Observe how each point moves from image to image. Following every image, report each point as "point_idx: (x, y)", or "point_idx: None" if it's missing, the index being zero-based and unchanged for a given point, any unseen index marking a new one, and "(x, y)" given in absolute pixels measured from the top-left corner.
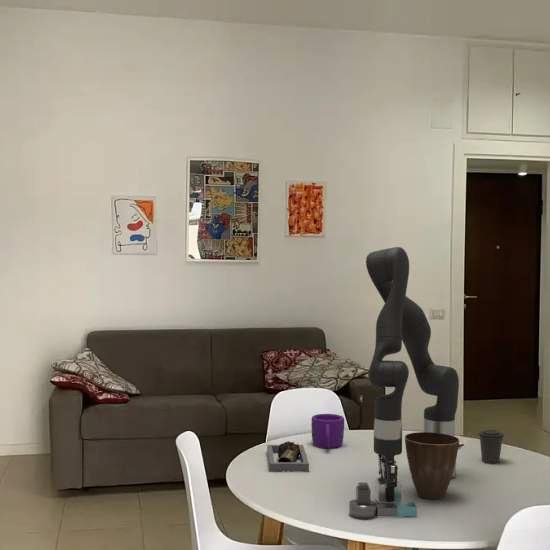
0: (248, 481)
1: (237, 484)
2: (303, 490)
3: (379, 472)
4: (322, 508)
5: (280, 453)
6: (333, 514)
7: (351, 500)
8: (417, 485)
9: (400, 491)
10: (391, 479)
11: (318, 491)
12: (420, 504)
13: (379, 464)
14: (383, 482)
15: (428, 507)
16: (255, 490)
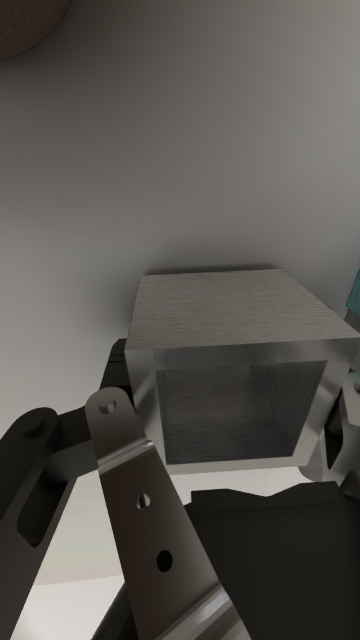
0: (43, 572)
1: (72, 579)
2: (82, 515)
3: (71, 480)
4: (242, 486)
5: None
6: (298, 469)
7: (309, 479)
8: (18, 34)
9: (321, 307)
10: (157, 383)
11: (82, 494)
12: (237, 98)
13: (33, 582)
14: (162, 410)
15: (320, 30)
16: (106, 563)
